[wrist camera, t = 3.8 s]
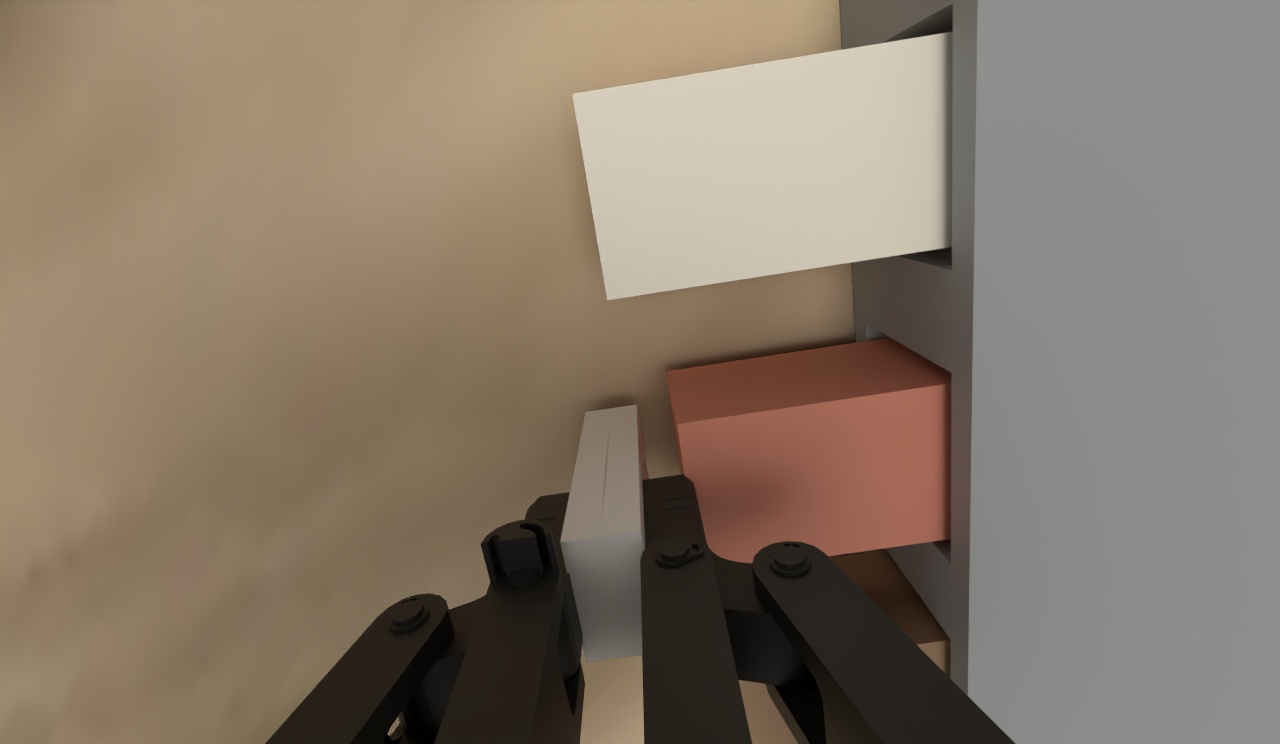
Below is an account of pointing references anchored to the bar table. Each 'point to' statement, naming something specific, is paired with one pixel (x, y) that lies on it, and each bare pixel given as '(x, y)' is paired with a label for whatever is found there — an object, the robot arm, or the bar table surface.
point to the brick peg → (817, 448)
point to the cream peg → (771, 166)
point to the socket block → (1103, 363)
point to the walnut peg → (894, 599)
